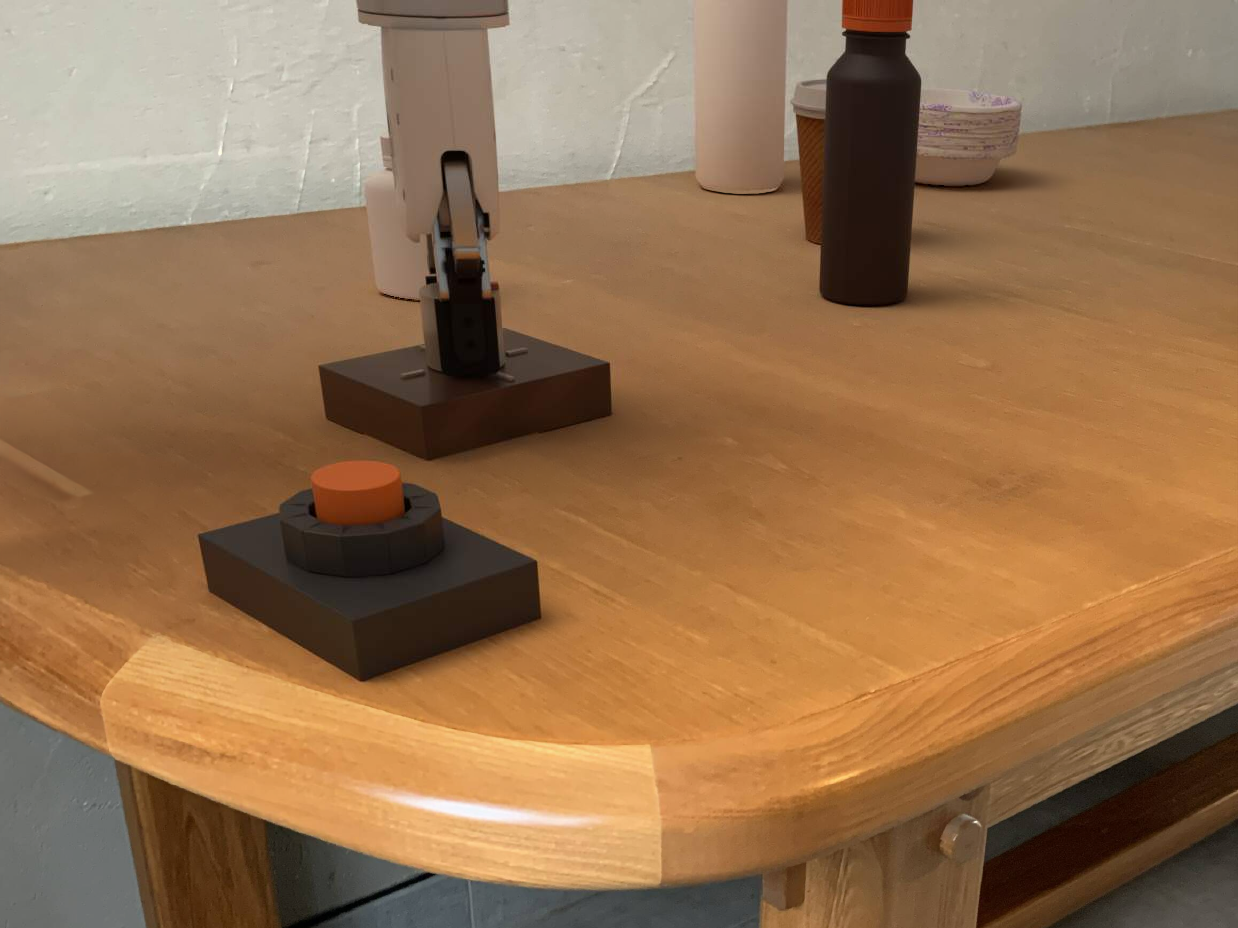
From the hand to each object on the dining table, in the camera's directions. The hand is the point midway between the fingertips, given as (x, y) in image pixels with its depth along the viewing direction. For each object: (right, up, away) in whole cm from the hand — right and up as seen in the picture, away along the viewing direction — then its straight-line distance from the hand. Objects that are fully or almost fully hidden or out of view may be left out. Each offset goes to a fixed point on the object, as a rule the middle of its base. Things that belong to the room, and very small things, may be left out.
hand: (465, 356), depth 86 cm
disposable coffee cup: (+22, +26, +46) cm, 58 cm away
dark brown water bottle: (+24, +15, +29) cm, 40 cm away
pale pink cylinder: (+13, +39, +65) cm, 77 cm away
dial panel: (0, -3, +2) cm, 3 cm away
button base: (+1, -18, -20) cm, 27 cm away
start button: (+1, -15, -23) cm, 27 cm away
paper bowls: (+34, +44, +73) cm, 92 cm away
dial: (0, 0, 0) cm, 0 cm away
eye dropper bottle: (-9, +13, +25) cm, 30 cm away
